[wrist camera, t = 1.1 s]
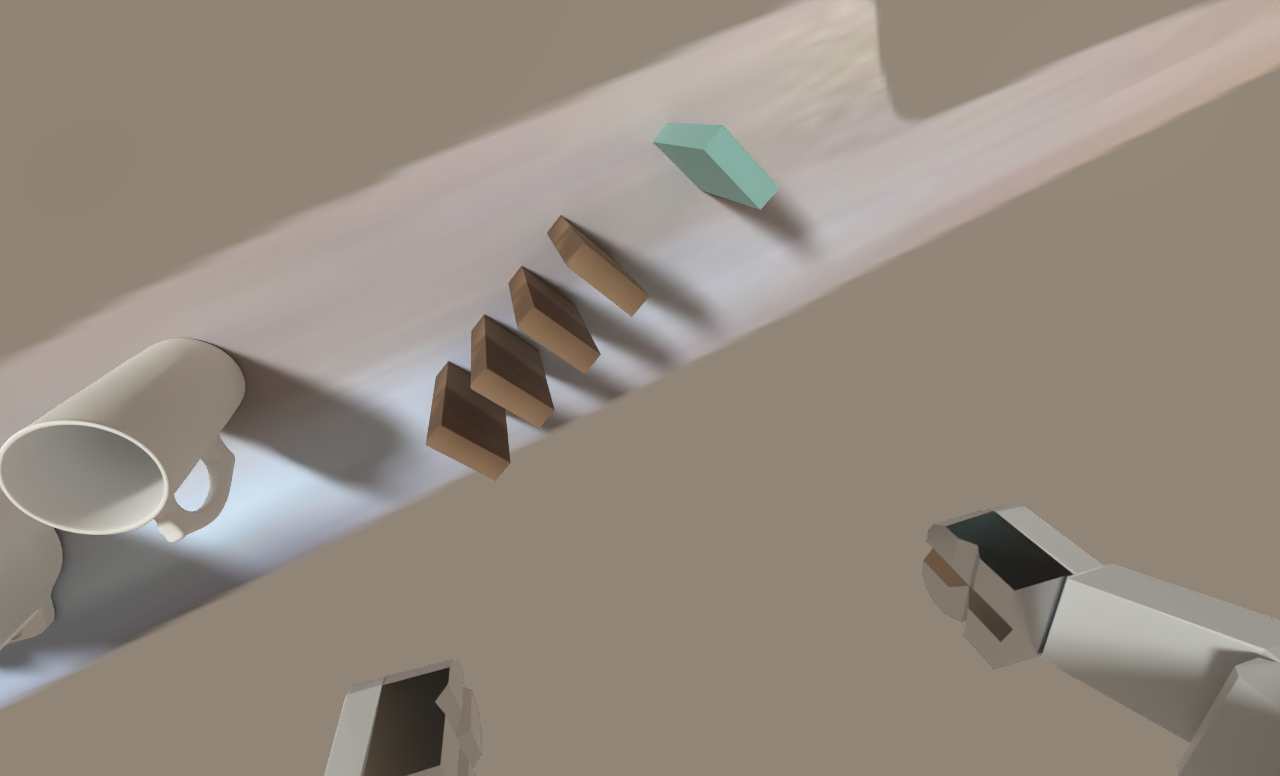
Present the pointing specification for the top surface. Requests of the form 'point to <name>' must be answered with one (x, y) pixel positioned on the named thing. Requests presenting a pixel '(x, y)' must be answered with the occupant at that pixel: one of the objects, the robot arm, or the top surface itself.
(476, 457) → the domino
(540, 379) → the domino
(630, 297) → the domino
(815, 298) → the top surface
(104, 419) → the mug
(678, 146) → the domino
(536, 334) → the domino
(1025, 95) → the top surface
